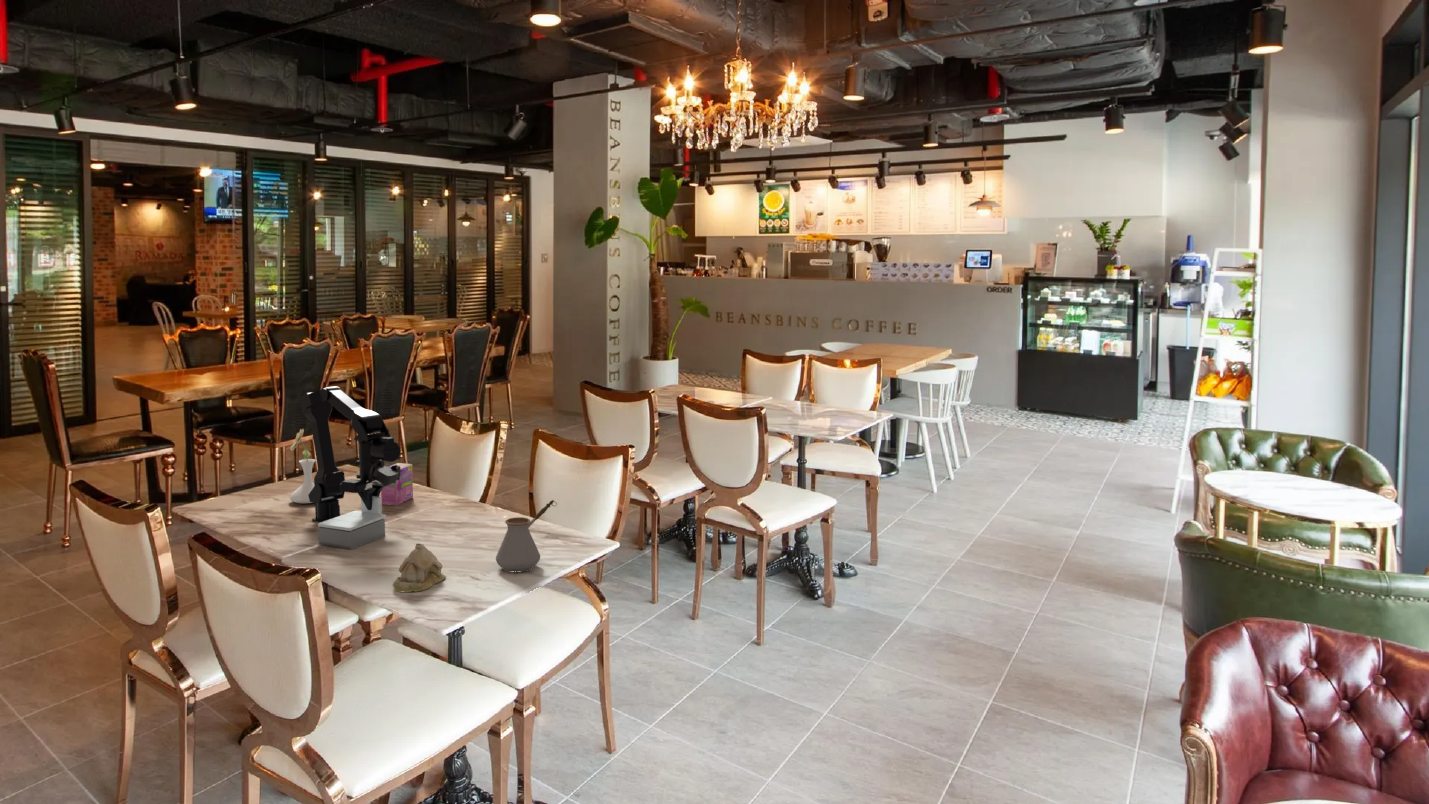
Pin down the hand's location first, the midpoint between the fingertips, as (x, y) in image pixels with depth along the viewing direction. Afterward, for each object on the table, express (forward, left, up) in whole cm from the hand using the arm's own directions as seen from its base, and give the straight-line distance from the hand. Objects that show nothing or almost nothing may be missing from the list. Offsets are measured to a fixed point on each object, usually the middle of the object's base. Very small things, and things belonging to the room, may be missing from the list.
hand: (371, 509), depth 257 cm
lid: (0, -7, -2) cm, 7 cm away
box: (-16, +31, -7) cm, 36 cm away
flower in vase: (-41, +18, -7) cm, 45 cm away
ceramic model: (+39, -28, -7) cm, 49 cm away
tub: (0, -8, -7) cm, 11 cm away
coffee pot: (+56, -5, -7) cm, 57 cm away
